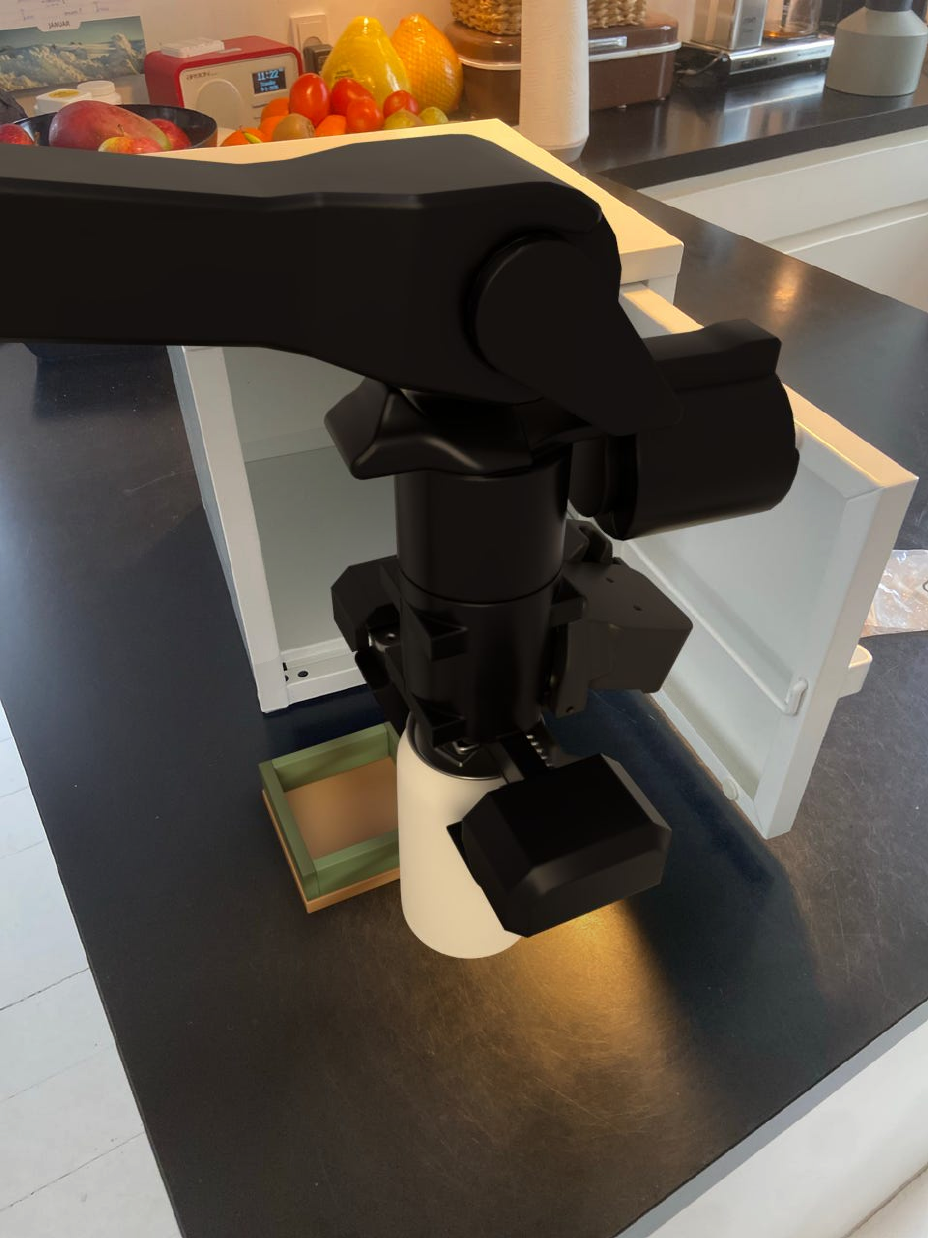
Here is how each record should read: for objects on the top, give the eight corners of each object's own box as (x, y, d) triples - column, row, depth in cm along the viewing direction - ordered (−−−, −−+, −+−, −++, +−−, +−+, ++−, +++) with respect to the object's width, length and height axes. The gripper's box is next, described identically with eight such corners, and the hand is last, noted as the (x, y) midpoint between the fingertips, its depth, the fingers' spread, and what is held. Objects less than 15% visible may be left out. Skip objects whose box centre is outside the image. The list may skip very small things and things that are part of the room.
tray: (308, 914, 53) (301, 878, 51) (263, 799, 59) (255, 763, 57) (455, 856, 56) (455, 820, 54) (398, 753, 62) (395, 717, 60)
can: (562, 897, 44) (588, 721, 37) (477, 991, 40) (487, 815, 33) (460, 827, 48) (466, 651, 40) (373, 908, 44) (361, 730, 36)
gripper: (854, 654, 27) (748, 945, 37) (554, 404, 41) (534, 667, 50) (525, 767, 24) (503, 1057, 34) (313, 452, 37) (341, 725, 47)
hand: (473, 840), depth 41 cm, fingers closed on can, 6 cm apart
